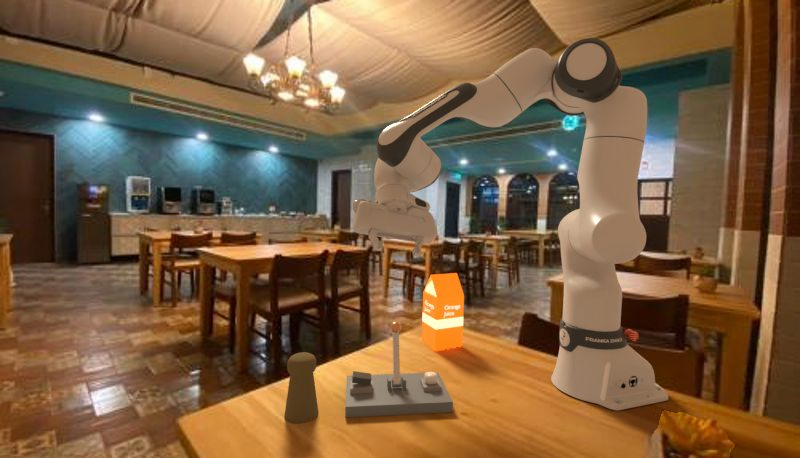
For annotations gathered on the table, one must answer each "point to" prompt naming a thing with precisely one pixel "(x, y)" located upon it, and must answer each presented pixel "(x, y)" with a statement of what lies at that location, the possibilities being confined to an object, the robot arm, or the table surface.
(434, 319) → the orange juice
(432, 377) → the push button
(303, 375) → the brown pawn
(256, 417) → the table surface
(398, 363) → the copper ball joystick
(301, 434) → the table surface
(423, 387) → the control panel
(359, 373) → the rocker switch
